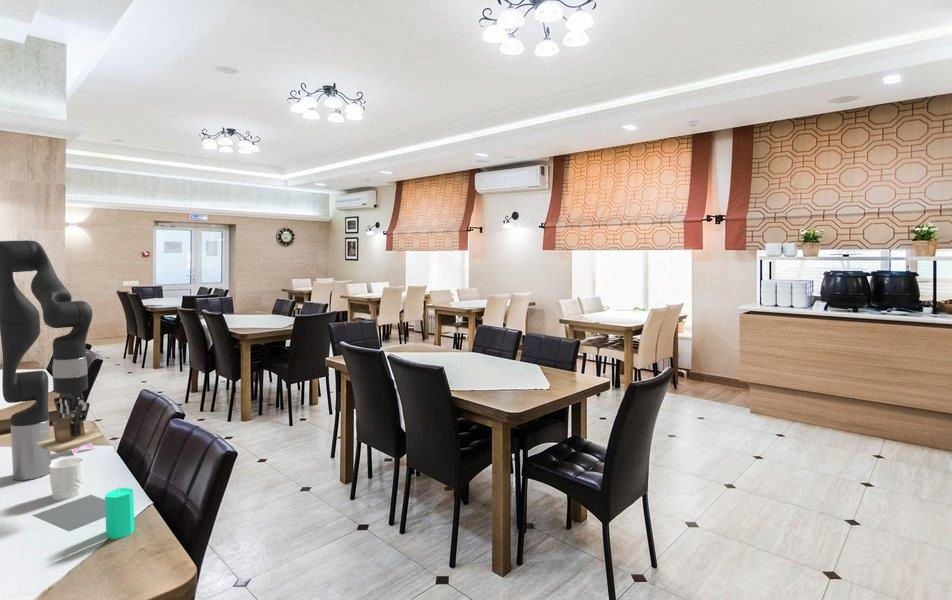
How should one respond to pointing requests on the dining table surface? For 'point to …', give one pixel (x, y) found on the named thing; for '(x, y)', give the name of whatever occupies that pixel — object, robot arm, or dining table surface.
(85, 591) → the dining table surface
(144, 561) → the dining table surface
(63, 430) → the lid
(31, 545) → the dining table surface
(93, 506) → the mat
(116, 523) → the candle
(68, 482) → the white cup
